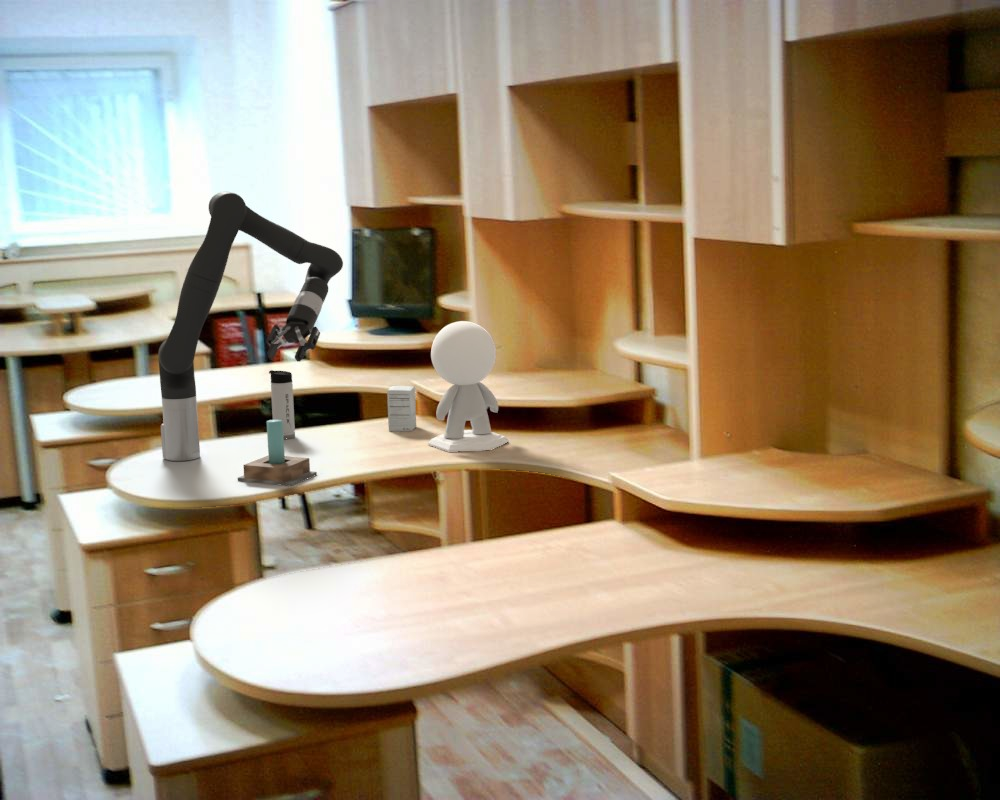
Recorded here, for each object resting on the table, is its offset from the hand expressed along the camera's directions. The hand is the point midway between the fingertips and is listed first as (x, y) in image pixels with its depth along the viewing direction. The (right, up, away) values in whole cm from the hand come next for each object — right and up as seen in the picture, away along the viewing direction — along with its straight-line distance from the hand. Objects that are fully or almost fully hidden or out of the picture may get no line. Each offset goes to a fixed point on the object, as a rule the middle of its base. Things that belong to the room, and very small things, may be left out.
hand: (283, 358), depth 335 cm
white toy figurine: (+49, -24, +21) cm, 59 cm away
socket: (+1, -31, -14) cm, 34 cm away
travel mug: (-6, -22, +35) cm, 42 cm away
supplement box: (+28, -20, +44) cm, 56 cm away
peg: (+1, -30, -14) cm, 33 cm away
